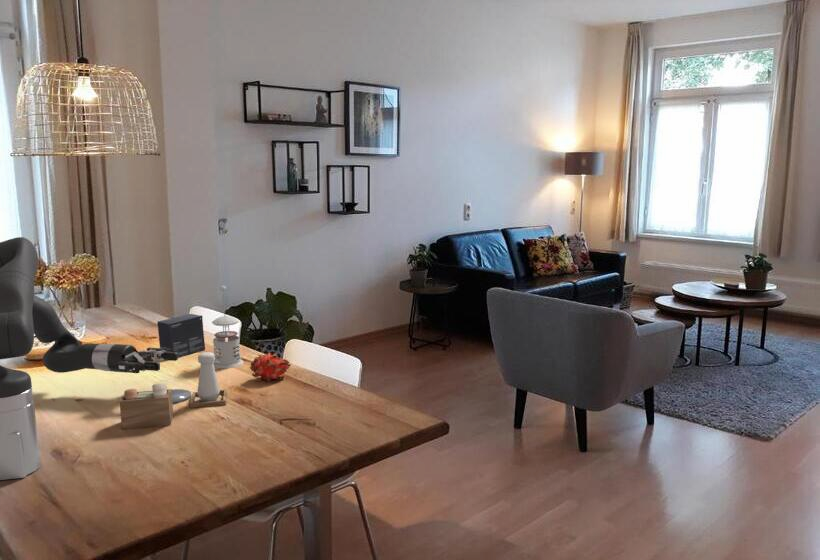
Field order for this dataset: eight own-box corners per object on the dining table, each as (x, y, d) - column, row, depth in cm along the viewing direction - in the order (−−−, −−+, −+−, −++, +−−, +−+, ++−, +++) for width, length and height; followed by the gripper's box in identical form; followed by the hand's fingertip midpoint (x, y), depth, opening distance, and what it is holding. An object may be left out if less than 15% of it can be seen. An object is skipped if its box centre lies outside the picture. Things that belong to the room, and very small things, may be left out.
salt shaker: (213, 404, 172) (210, 357, 169) (193, 403, 173) (190, 356, 170) (224, 397, 177) (221, 350, 175) (204, 395, 178) (201, 349, 176)
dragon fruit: (247, 386, 190) (288, 386, 195) (252, 376, 184) (294, 377, 188) (246, 358, 194) (287, 359, 199) (252, 348, 187) (293, 349, 192)
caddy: (170, 424, 159) (167, 388, 157) (122, 429, 156) (118, 392, 155) (173, 415, 165) (170, 380, 163) (126, 419, 162) (123, 384, 161)
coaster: (189, 402, 173) (189, 400, 173) (149, 406, 171) (149, 403, 171) (192, 389, 183) (192, 387, 183) (154, 393, 181) (154, 390, 181)
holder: (225, 404, 172) (225, 401, 172) (189, 407, 170) (189, 404, 170) (227, 393, 180) (227, 389, 180) (193, 395, 178) (192, 392, 178)
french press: (211, 369, 201) (205, 289, 196) (212, 358, 212) (207, 282, 207) (244, 366, 203) (239, 287, 199) (243, 356, 214) (239, 281, 210)
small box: (193, 346, 226) (190, 312, 224) (205, 349, 222) (203, 315, 220) (159, 356, 215) (156, 320, 213) (172, 359, 211) (169, 323, 209)
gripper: (96, 352, 172) (151, 356, 168) (129, 337, 185) (181, 340, 182) (98, 379, 173) (154, 383, 170) (132, 362, 187) (183, 366, 183)
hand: (168, 361), depth 176 cm, fingers open, 8 cm apart
